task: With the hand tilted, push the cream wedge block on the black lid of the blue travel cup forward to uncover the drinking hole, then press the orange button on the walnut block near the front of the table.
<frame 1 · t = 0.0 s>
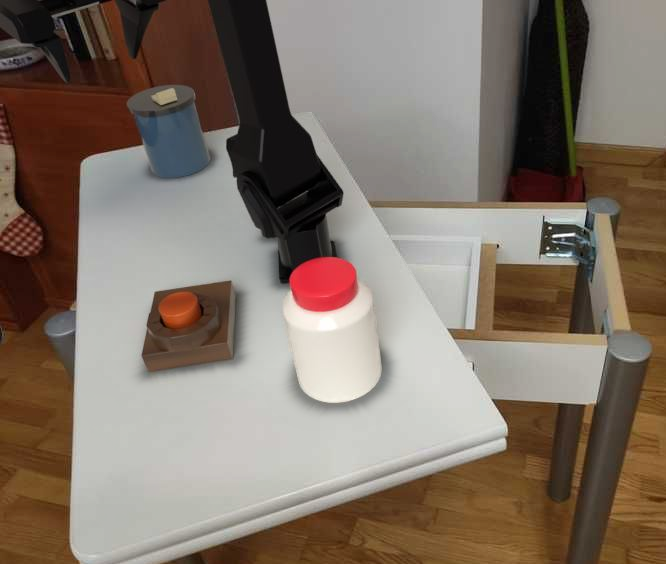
hand: (100, 69, 82), 15 cm above the table, tool pointing down, fingers open, 9 cm apart
travel cup: (181, 163, 95), on the table
pill bottle: (340, 373, 61), on the table
button block: (195, 332, 66), on the table
cream wedge block: (163, 94, 87), point 11 cm above the table, slide at 0.0 cm
medicine box: (288, 221, 81), on the table
button: (180, 310, 62), point 4 cm above the table, slide at 0.1 cm
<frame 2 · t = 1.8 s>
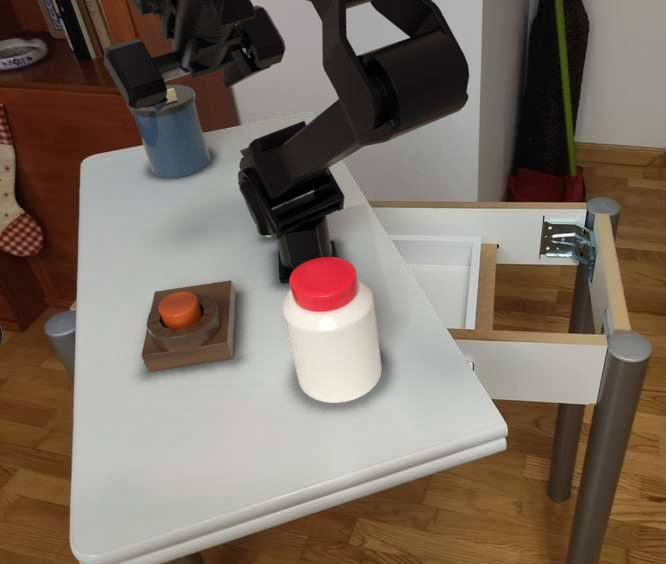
hand: (191, 95, 79), 13 cm above the table, tool tilted 45°, fingers open, 9 cm apart
nothing on the table moved.
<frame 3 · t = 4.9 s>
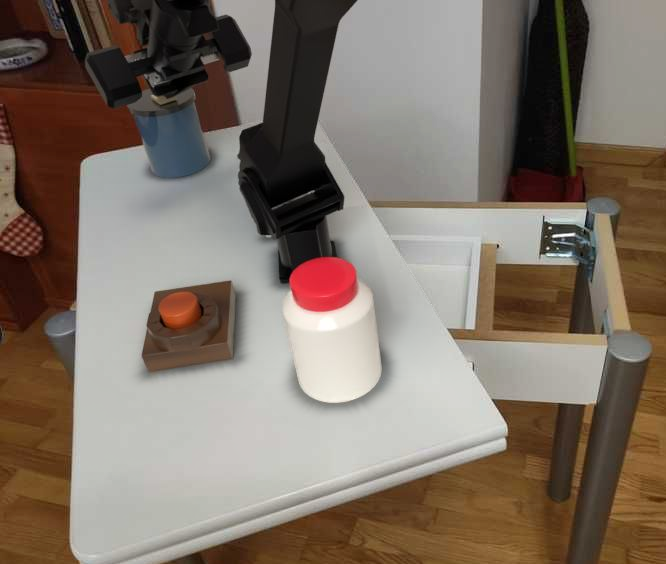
hand: (167, 95, 86), 11 cm above the table, tool tilted 45°, fingers closed, pressing on cream wedge block
cream wedge block: (162, 93, 87), point 11 cm above the table, slide at 0.2 cm, touching gripper
everything else where it was.
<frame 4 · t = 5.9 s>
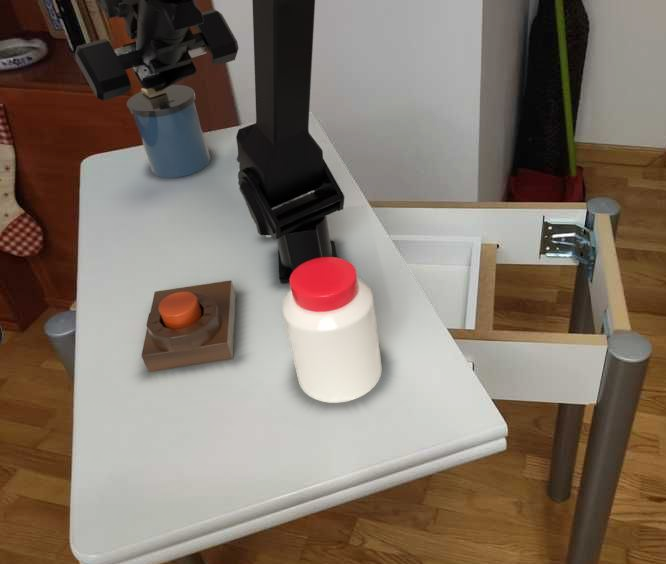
hand: (156, 88, 88), 11 cm above the table, tool tilted 45°, fingers closed, pressing on cream wedge block
cream wedge block: (152, 87, 90), point 11 cm above the table, slide at 3.7 cm, touching gripper
everything else where it was.
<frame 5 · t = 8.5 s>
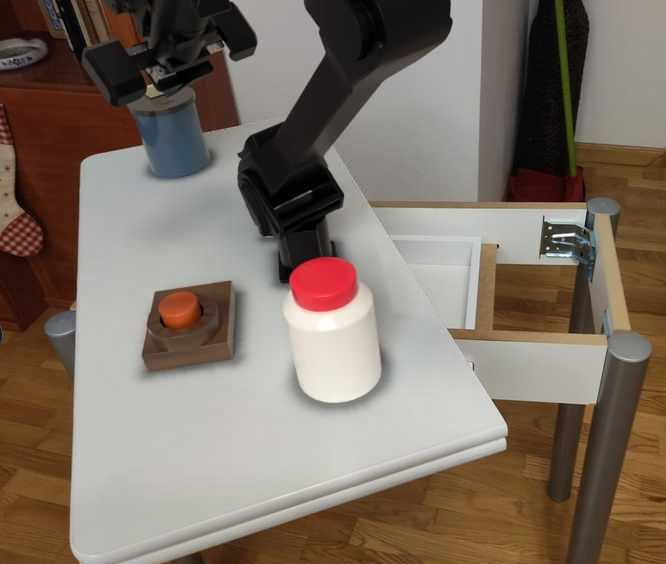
hand: (167, 93, 80), 13 cm above the table, tool tilted 45°, fingers closed
cream wedge block: (152, 87, 90), point 11 cm above the table, slide at 3.6 cm
everything else where it was.
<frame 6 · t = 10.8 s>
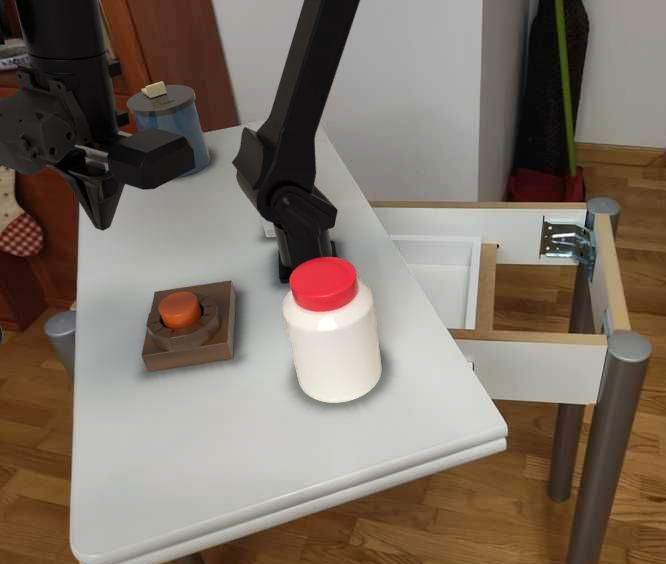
hand: (103, 228, 61), 11 cm above the table, tool pointing down, fingers closed
nothing on the table moved.
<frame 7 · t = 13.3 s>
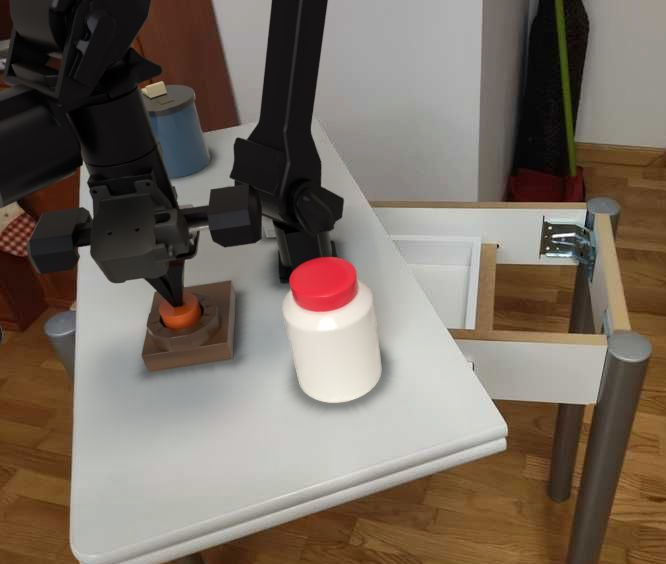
hand: (178, 304, 61), 5 cm above the table, tool pointing down, fingers closed, pressing on button
button: (180, 311, 62), point 4 cm above the table, slide at -0.1 cm, touching gripper
everything else where it was.
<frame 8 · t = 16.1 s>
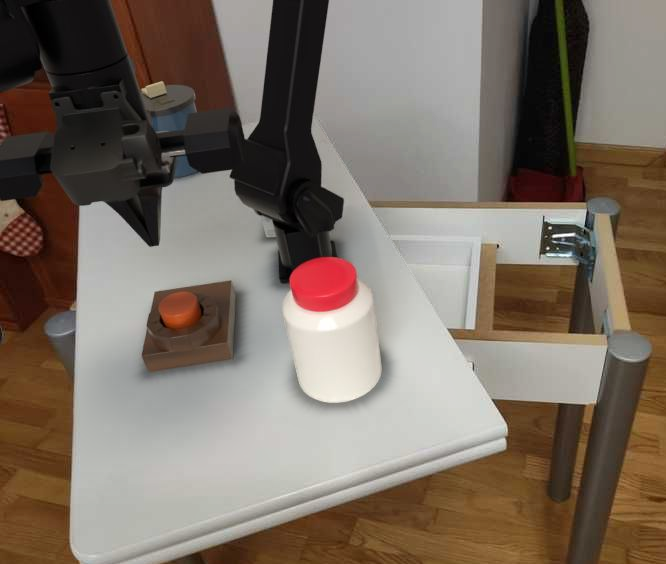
hand: (155, 243, 57), 12 cm above the table, tool pointing down, fingers closed
button: (180, 310, 62), point 4 cm above the table, slide at 0.1 cm
everything else where it was.
at the end: cream wedge block slide at 3.6 cm; button pushed in 1.2 cm at the most during the clip, back to where it started at the end; button slide at 0.1 cm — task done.
